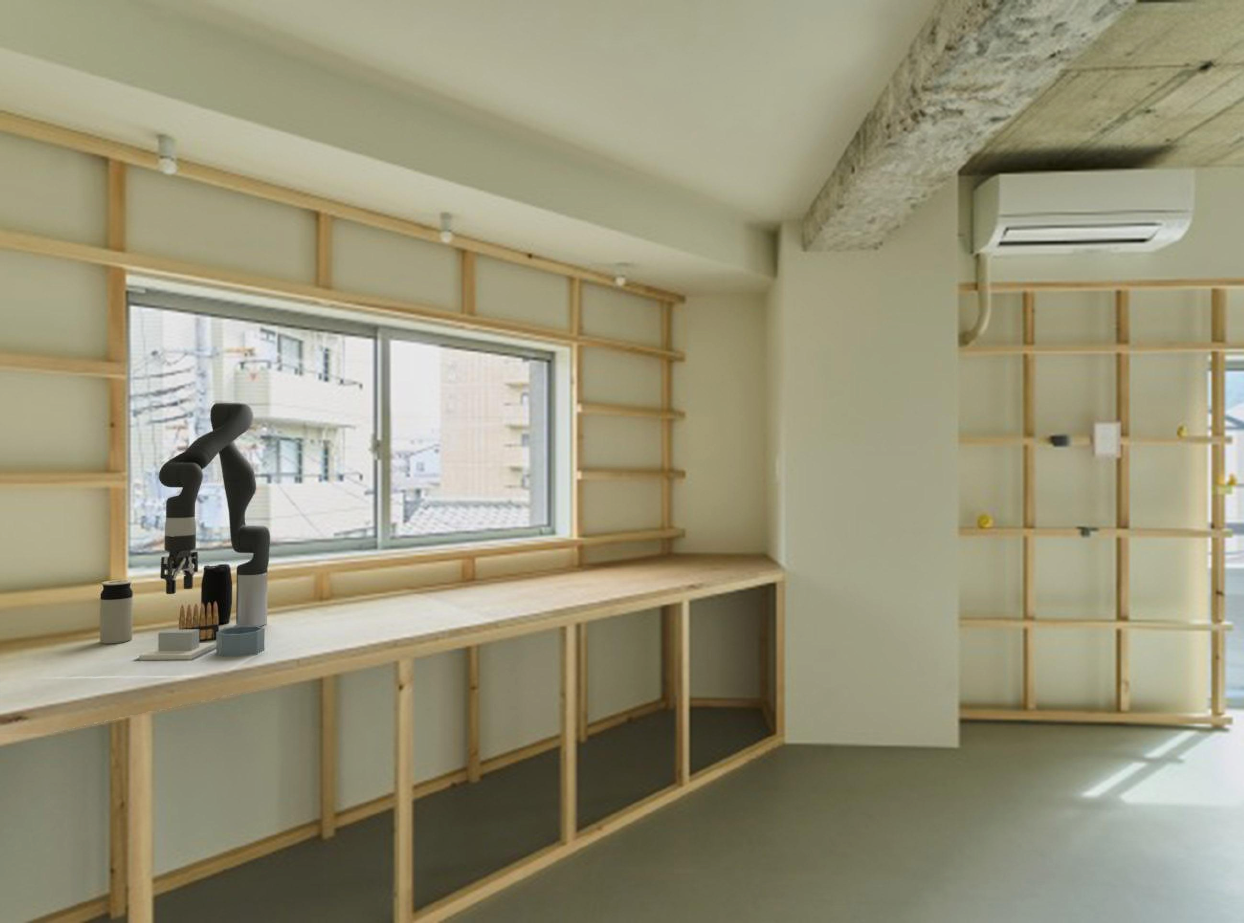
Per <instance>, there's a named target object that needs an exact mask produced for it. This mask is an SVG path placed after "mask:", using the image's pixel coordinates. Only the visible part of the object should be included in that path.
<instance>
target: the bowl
mask: <svg viewBox="0 0 1244 923" xmlns="http://www.w3.org/2000/svg"><path fill="white" fill-rule="evenodd" d="M215 641H216V642H215V643H216V650H215V652H216V653H215V654H217V655H219V656H220V657H242V656H248V655H249V656H250V655H253V654H254V656H257V655H259V654H261V653H262V651H263V652H264V651H265V627H262V626H239V627H237V626H233V627H225V628H223V629H219V631H218V632H216V640H215ZM260 652H261V653H260ZM258 653H259V654H258Z"/></svg>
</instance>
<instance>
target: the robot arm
mask: <svg viewBox="0 0 1244 923" xmlns="http://www.w3.org/2000/svg"><path fill="white" fill-rule="evenodd" d="M209 415H210V424H211V428H212V431H209V432H207V433H205V434H203V435H201V436H199V437H198V438H197V439H195V440H194V441H193V442H192V443H191V444H190V446H188V448H187V449H186V450H185V451H183V452H181V453H179V454H177V455H176V456H174V457H172V458H171V459H169V460H168V461H166V462H165V463H163V465H162V466H161V467H160V470H159V473H158V479H159V482H160V483H161V484H162V485H163V486H165V487H166V488H167V487H168V488H182V489H181V491H180V492H179V494H178V495H173V496H169V497H167V499H166V502H165V522H164V523H165V524H164V547H163V548H164V551H165V552H168V556H162V557H161V559H160V574H159V575H160V576H159V577H160V579H161V580H164V581H165V593H166V595H174V594H176V588H177V580H176V579H177V576H178V574H180V573H181V572H182V574H183V589H184V590H190V589H191V590H192V589H193V587H194V586H193V585H194V575H195V574H196V573H198V571H199V557H198V556H199V554H198V551H194V550H196V548H197V546H196V544H197V541H196V540H197V522H196V501H197V499H198V495H199V492H200V489H201V486H202V483H203V480H204V475H203V473H204V472H203V469H206V468H207V466H209V465H210V463H211V462H212V461H213V460H214V459H215V457H216V456H217V455H218V456H219V461H220V466H221V467H220V468H221V474H222V481H223V487H224V491H225V496H226V503H227V508H228V510H227V511H228V518H229V535H230V543H231V548H232V550H233V551H234V552H235V553H239V554H252V559H250V560H249V561H247V562H244V563H241V564H238V565H237V567H236V599H235V600H236V604H235V608H236V609H235V611H236V614H235V618H236V619H235V627H239V626H260V627H262V626H266V625H267V624H268V570H269V569H268V568H269V562H270V549H271V534H270V530H269V528H268V527H267V526H266V525H247V524H246V518H245V517H246V516H245V515H246V511H247V508H248V506H249V504H250V502H251V501H252V499H253V497H254V495H255V494H256V490H257V481H256V474H255V470H254V467H253V465H252V463H251V462H250V461H249V459H248V458H247V457H246V456H245V455H244V454H243V452H242V451H241V450H240V449H239V448H238V446H237V445H236V442H235V440H236V439H238V437H240V436H242V435H243V434H245V433H246V432H247V431H248V430H249V429H250V428H251V427H252V426H253V422H254V412H253V409H252V407H251V406H249V404H246V403H242V402H241V403H240V402H215V403H214V404H213V405H212V407H211V408H210V414H209Z"/></svg>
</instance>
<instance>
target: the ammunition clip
mask: <svg viewBox="0 0 1244 923" xmlns="http://www.w3.org/2000/svg"><path fill="white" fill-rule="evenodd" d="M185 611H186V612H185ZM185 613H186V614H185ZM219 626H220V625H219V623H218V607H217V603H216V601H215V603H214V606H213V615H212V614H211V605H210V602H209V603H208V605H207V613H206V617H205V607H204V604H203V603H202V604H201V603H200V611H199V607H198V603H195V604H194V607H193V616H192V607H191V604H188V606H187V609H186V610H185V607H184V605H183V604H181V607H180V610H179V618H178V630H179V629H199V643H205V642H210V641H216V632H218V631H220V627H219Z"/></svg>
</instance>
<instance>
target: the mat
mask: <svg viewBox="0 0 1244 923" xmlns="http://www.w3.org/2000/svg"><path fill="white" fill-rule="evenodd" d="M213 651H216V647H215V648H213V649H211V650H209V651H207V652H205V653H203V654H200V655H198V656H196V657H194V658H192V659H169V660H139V657H137V658H135V659H133V660H132V662H182V661H183V662H188V661H189V662H191V661H194V660H196V659H200V658H201V657H203V656H205V655H207V654H209V653H211V652H213Z"/></svg>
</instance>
